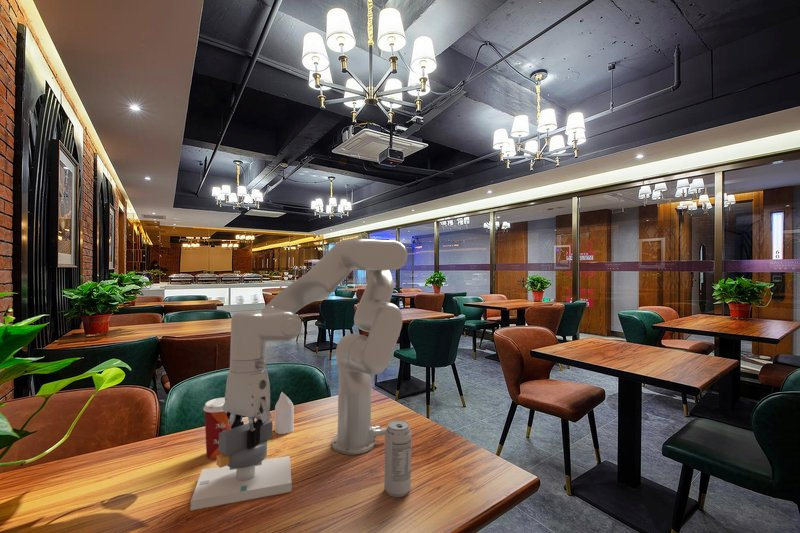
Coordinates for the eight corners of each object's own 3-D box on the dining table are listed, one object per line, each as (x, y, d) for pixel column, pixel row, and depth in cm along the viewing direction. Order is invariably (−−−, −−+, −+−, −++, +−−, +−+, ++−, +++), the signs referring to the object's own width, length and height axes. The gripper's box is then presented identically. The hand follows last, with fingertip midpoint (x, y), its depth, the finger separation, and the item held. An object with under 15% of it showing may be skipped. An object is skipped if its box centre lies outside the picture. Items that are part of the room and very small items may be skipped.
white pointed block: (298, 391, 110) (284, 396, 105) (297, 429, 109) (283, 436, 105) (284, 387, 112) (270, 392, 108) (283, 424, 112) (269, 431, 107)
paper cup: (220, 463, 90) (222, 408, 90) (195, 459, 91) (196, 405, 91) (240, 448, 97) (241, 397, 98) (216, 444, 99) (217, 395, 99)
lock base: (289, 463, 90) (290, 440, 90) (291, 491, 79) (291, 464, 79) (202, 477, 83) (202, 452, 83) (190, 510, 72) (191, 481, 72)
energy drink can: (404, 480, 84) (406, 417, 84) (414, 495, 78) (415, 428, 78) (381, 485, 82) (382, 421, 82) (389, 501, 76) (390, 432, 76)
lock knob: (258, 442, 88) (259, 414, 88) (278, 454, 82) (278, 425, 82) (209, 461, 79) (210, 430, 79) (227, 476, 73) (228, 443, 73)
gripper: (287, 365, 81) (284, 444, 81) (234, 357, 88) (232, 429, 88) (262, 373, 74) (260, 459, 74) (207, 363, 81) (205, 442, 81)
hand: (245, 442), depth 81 cm, fingers closed on lock knob, 4 cm apart
